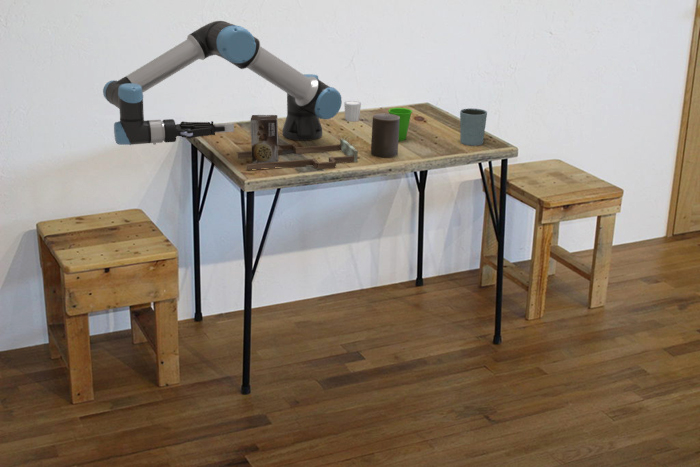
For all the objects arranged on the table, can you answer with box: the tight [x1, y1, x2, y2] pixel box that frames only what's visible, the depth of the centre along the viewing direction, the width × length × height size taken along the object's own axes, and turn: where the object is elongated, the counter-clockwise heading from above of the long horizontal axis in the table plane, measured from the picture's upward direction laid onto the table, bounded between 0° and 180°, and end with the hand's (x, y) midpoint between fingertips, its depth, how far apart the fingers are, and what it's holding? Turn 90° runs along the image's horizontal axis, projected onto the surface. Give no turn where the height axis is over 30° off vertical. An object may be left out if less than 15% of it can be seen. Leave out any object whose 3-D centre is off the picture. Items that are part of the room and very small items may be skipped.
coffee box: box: [249, 114, 279, 164], centre depth 312 cm, size 9×6×16 cm
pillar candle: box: [370, 112, 400, 158], centre depth 325 cm, size 10×10×15 cm
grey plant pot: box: [459, 107, 488, 147], centre depth 342 cm, size 10×10×12 cm
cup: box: [387, 107, 413, 142], centre depth 344 cm, size 9×9×11 cm
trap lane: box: [236, 138, 359, 171], centre depth 318 cm, size 25×39×4 cm, turn 109°
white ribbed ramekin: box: [343, 100, 362, 122], centre depth 369 cm, size 7×7×7 cm
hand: (233, 127), depth 307 cm, fingers closed
